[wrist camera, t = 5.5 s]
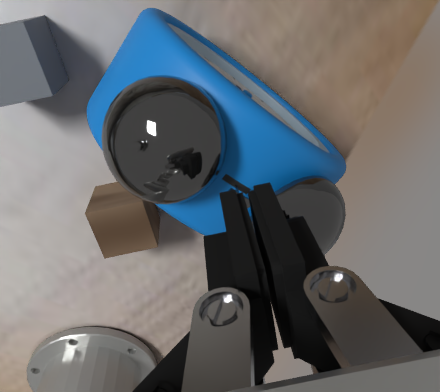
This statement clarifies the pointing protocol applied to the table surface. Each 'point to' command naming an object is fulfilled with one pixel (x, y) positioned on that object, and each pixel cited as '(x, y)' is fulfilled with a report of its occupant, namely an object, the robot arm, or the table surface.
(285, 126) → the alarm clock
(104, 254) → the walnut block
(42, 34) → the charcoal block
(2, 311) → the table surface
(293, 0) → the table surface
